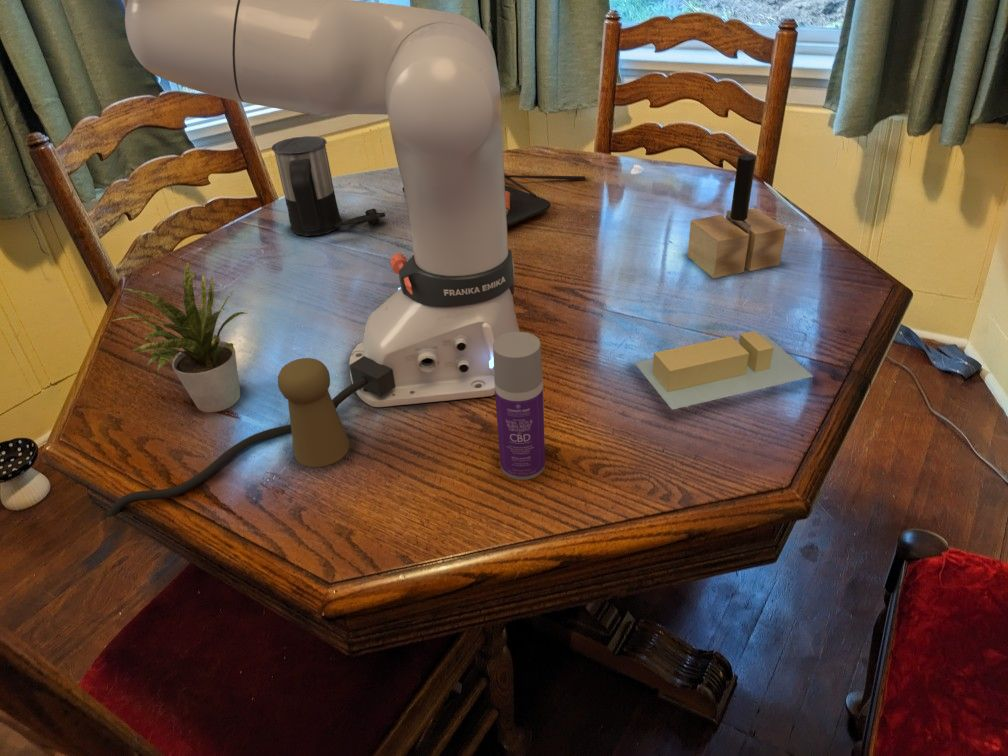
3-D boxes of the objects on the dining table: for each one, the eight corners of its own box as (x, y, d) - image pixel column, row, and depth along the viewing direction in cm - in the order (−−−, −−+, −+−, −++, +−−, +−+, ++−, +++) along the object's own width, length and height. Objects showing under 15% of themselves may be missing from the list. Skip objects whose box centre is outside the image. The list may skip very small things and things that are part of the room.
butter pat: (754, 372, 86) (758, 351, 84) (736, 354, 89) (739, 333, 87) (769, 369, 86) (774, 347, 84) (751, 351, 89) (754, 330, 87)
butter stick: (667, 392, 83) (669, 370, 82) (652, 373, 86) (653, 352, 85) (745, 374, 85) (749, 353, 84) (727, 356, 88) (730, 335, 87)
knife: (736, 270, 108) (751, 164, 99) (715, 254, 113) (728, 151, 104) (750, 267, 109) (766, 162, 100) (729, 251, 114) (743, 149, 104)
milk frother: (285, 223, 132) (265, 141, 124) (367, 204, 138) (354, 124, 129) (304, 252, 122) (284, 165, 113) (393, 230, 127) (380, 145, 119)
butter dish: (671, 416, 81) (672, 409, 81) (633, 368, 89) (633, 362, 89) (812, 383, 85) (813, 376, 84) (763, 340, 93) (764, 333, 92)
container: (511, 486, 74) (503, 363, 65) (493, 458, 77) (483, 338, 69) (553, 471, 75) (550, 349, 66) (533, 445, 79) (528, 326, 70)
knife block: (713, 278, 107) (718, 240, 103) (687, 256, 113) (690, 219, 110) (779, 265, 109) (786, 228, 106) (750, 244, 115) (755, 208, 112)
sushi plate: (396, 197, 140) (394, 178, 138) (511, 156, 156) (510, 138, 153) (497, 239, 122) (496, 218, 120) (615, 188, 137) (616, 168, 135)
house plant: (154, 378, 93) (107, 262, 84) (264, 352, 97) (231, 238, 87) (152, 445, 82) (98, 320, 73) (277, 412, 86) (240, 290, 76)
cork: (337, 470, 77) (316, 385, 71) (284, 464, 78) (259, 381, 72) (357, 433, 82) (339, 351, 75) (307, 429, 83) (286, 348, 77)
